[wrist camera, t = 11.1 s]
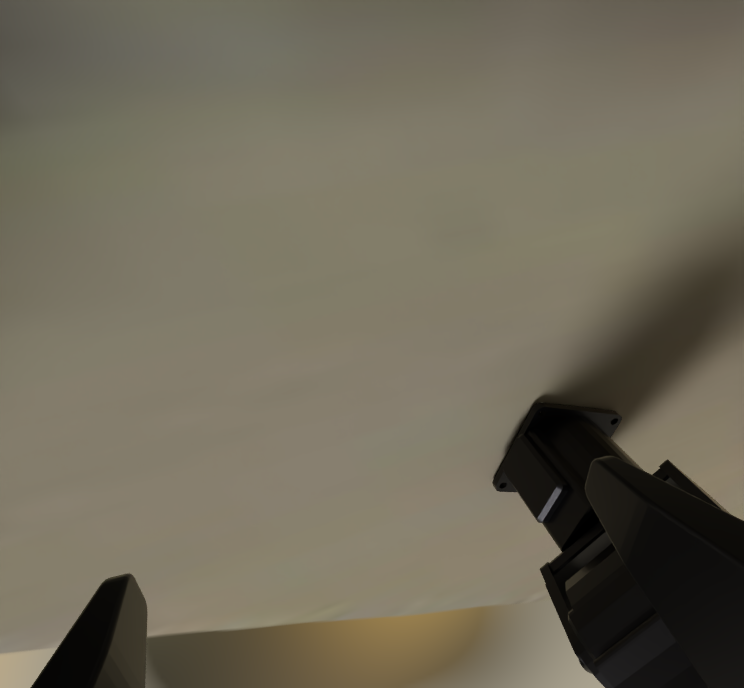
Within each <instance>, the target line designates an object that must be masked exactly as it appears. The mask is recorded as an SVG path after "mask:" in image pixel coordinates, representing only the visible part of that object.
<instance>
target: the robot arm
mask: <svg viewBox="0 0 744 688" xmlns="http://www.w3.org/2000/svg"><path fill="white" fill-rule="evenodd" d="M621 420H622V417H621V416H620V415H619V414H618V413H617V412H615V411H610V410H602V409H593V408H584V407H576V406H567V405H558V404H550V403H538V404H536V405H535V406H533V408H532V409H531V411H530V413H529V415H528V417H527V418H526V420H525V422H524V424H523V426H522V428H521V430H520V432H519V433H518V435H517V437H516V439H515V441H514V443H513V445H512V447H511V448H510V450H509V452H508V454H507V456H506V458H505V460H504V461H503V463H502V465H501V467H500V469H499V471H498V473H497V475H496V476H495V478H494V480H493V486H494V487H495V489H496V490H497V491H500V492H518V494H519V495H520V496H521V498H522V499H523V501H524V502H525V504H526V505H527V507H528V508H529V510H530V511H531V513H532V514H533V516H534V517H535V519H536V520H537V521H538V522H539V523H543V525H544V526H545V528H546V529H547V531H548V532H549V534H550V535H551V537H552V538H553V540H554V541H555V542H556V544H557V545H558V547H559V548H560V550H561V551H562V553H561V554H559V555H558V556H557V557H556V558H555V559H554V560H552V561H551V562H550V563H548V562H547V563H546V564H545V565H544V566H542V567H541V568H540V571H541V573H542V576H543V578H544V580H545V583H546V584H545V585H546V588H547V590H548V592H549V595H550V597H551V599H552V601H553V604H554V606H555V608H556V611H557V613H558V615H559V618H560V620H561V622H562V625H563V627H564V629H565V632H566V634H567V636H568V639H569V641H570V643H571V646H572V648H573V650H574V652H575V654H576V655H577V657H578V658H579V662H580V664H581V665H582V667H583V668H584V669H585V670H586V671H587V672H589V673H592V674H593V675H594V676H595V677H596V678H597V679H598V681H600V683H601V684H602V685H603V686H604V687H605V688H744V521H743V520H741V519H739V518H737V517H735V516H733V515H731V514H730V513H729V512H728V511H726V510H725V509H724V508H723V507H722V506H721V505H720V504H719V503H718V502H716V501H715V500H714V499H713V498H712V497H711V496H710V495H709V494H707V493H706V492H705V491H704V490H703V489H702V488H701V487H699V486H698V485H697V484H696V483H695V482H693V481H692V480H691V479H690V478H689V477H688V476H686V475H685V474H684V473H683V472H682V471H680V470H679V469H678V468H677V467H676V466H675V465H673V464H672V463H671V462H670V461H669V460H666V461H665V462H664V463H662V464H661V465H660V466H659V467H660V469H659V470H658V471H656V472H655V473H654V474H653V475H651V474H649V473H647V472H645V471H644V470H643V469H641V468H640V467H639V466H638V465H637V464H636V463H635V462H634V461H633V460H632V459H631V458H630V457H629V456H628V455H627V454H626V453H625V452H624V451H623V450H622V449H621V448H620V447H619V446H618V445H617V444H616V443H615V442H614V441H613V440H612V439H611V436H612V435H613V433H614V431H615V430H616V428H617V427H618V425H619V424H620V422H621ZM146 640H147V605H146V601H145V598H144V596H143V594H142V592H141V590H140V588H139V586H138V584H137V582H136V580H135V578H134V577H133V575H131V574H123V575H119V576H115V577H111V578H108V579H106V580H105V581H104V582H103V583H102V584H101V585H100V587H99V588H98V590H97V591H96V592H95V594H94V595H93V597H92V598H91V600H90V601H89V603H88V604H87V606H86V607H85V609H84V610H83V612H82V613H81V615H80V616H79V617H78V619H77V620H76V622H75V623H74V625H73V626H72V628H71V629H70V631H69V632H68V634H67V635H66V637H65V638H64V640H63V641H62V642H61V644H60V645H59V647H58V648H57V650H56V651H55V653H54V654H53V656H52V657H51V659H50V660H49V662H48V663H47V665H46V666H45V667H44V669H43V670H42V672H41V673H40V675H39V676H38V678H37V679H36V681H35V682H34V684H33V685H32V687H31V688H145V674H146Z"/></svg>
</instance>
